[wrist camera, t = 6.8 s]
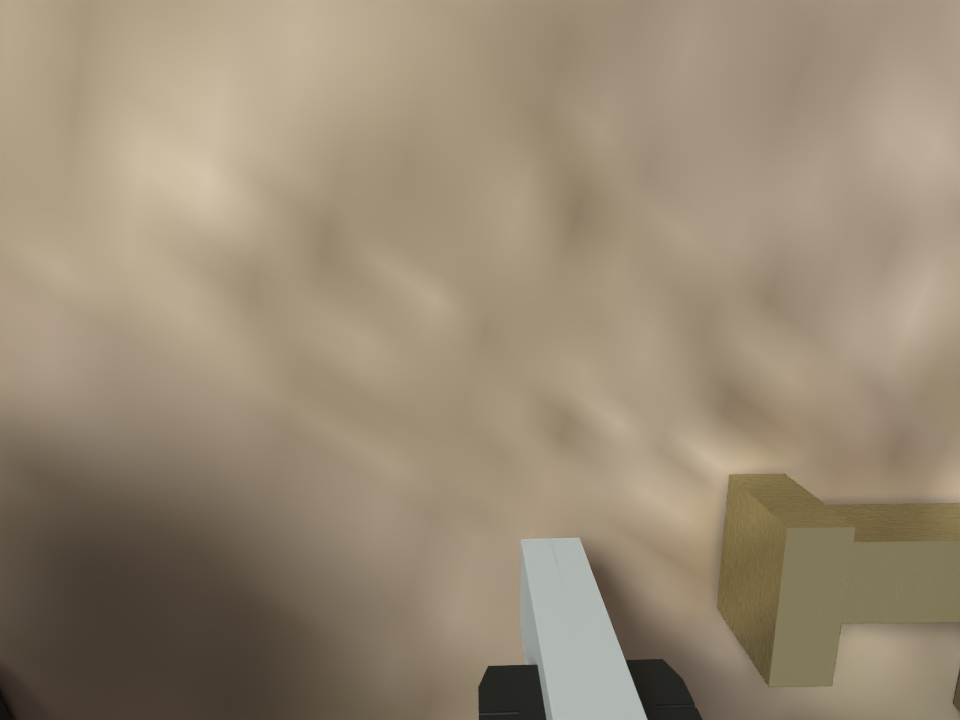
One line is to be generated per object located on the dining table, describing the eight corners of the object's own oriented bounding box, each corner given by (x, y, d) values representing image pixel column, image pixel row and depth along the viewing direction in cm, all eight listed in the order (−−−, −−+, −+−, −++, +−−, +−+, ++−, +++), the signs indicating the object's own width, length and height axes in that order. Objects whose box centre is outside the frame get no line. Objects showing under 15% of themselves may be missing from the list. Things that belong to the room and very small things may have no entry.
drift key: (717, 608, 16) (768, 687, 14) (729, 474, 16) (787, 528, 13) (1004, 604, 16) (1118, 682, 14) (1034, 470, 16) (1162, 523, 13)
